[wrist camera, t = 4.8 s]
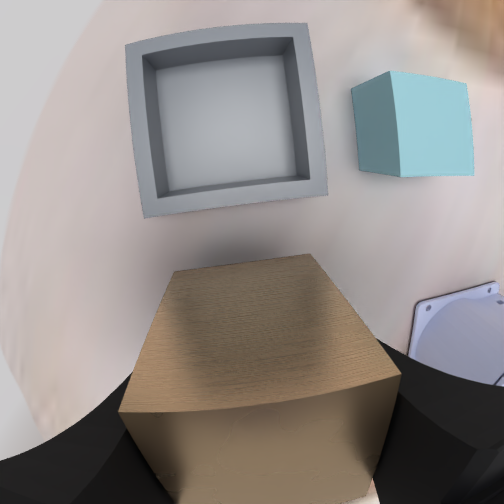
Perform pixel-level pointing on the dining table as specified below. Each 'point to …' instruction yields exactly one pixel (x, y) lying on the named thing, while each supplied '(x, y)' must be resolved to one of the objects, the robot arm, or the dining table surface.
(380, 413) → the wooden block
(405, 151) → the pale teal cube
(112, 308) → the dining table surface
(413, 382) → the robot arm
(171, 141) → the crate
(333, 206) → the dining table surface
